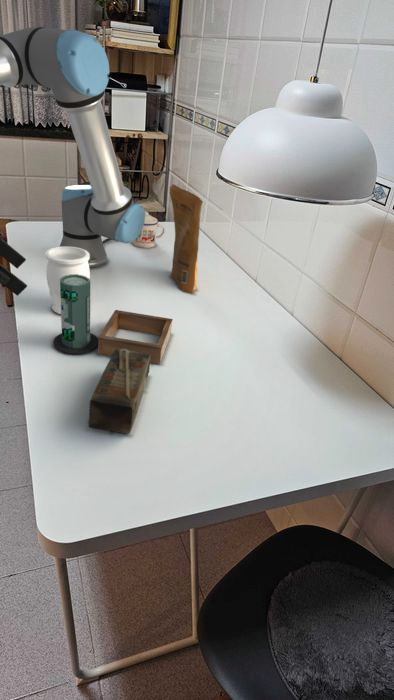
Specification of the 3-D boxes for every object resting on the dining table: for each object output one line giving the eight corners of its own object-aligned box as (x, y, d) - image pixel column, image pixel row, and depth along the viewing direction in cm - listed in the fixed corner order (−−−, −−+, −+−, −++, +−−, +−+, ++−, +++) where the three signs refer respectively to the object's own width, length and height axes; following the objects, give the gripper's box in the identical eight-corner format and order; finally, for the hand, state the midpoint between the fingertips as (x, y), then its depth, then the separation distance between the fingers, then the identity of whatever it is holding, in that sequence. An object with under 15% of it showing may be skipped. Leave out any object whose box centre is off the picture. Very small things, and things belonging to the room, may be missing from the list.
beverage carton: (150, 376, 100) (152, 350, 96) (131, 437, 83) (133, 407, 80) (113, 371, 100) (114, 344, 96) (87, 430, 83) (87, 400, 80)
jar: (79, 321, 117) (79, 264, 109) (40, 313, 118) (37, 256, 110) (96, 304, 126) (96, 250, 118) (59, 297, 127) (57, 243, 119)
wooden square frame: (114, 325, 117) (115, 309, 115) (171, 334, 116) (172, 318, 114) (97, 354, 105) (97, 337, 103) (160, 364, 104) (161, 347, 102)
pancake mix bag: (180, 296, 136) (191, 198, 122) (161, 271, 151) (168, 181, 137) (202, 295, 139) (214, 199, 124) (180, 270, 153) (190, 181, 139)
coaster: (63, 329, 112) (63, 327, 112) (104, 336, 112) (104, 334, 112) (46, 350, 104) (46, 348, 103) (90, 358, 103) (91, 355, 103)
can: (61, 335, 109) (59, 274, 101) (88, 333, 111) (87, 274, 103) (63, 348, 104) (61, 286, 96) (91, 347, 106) (91, 285, 98)
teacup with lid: (133, 248, 167) (134, 215, 161) (129, 239, 174) (130, 207, 168) (166, 248, 170) (169, 216, 164) (161, 240, 178) (163, 209, 172)
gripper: (-78, 195, 94) (9, 265, 106) (-103, 236, 74) (8, 317, 87) (-53, 168, 93) (32, 242, 105) (-72, 203, 73) (37, 289, 86)
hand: (22, 276), depth 96 cm, fingers open, 13 cm apart
